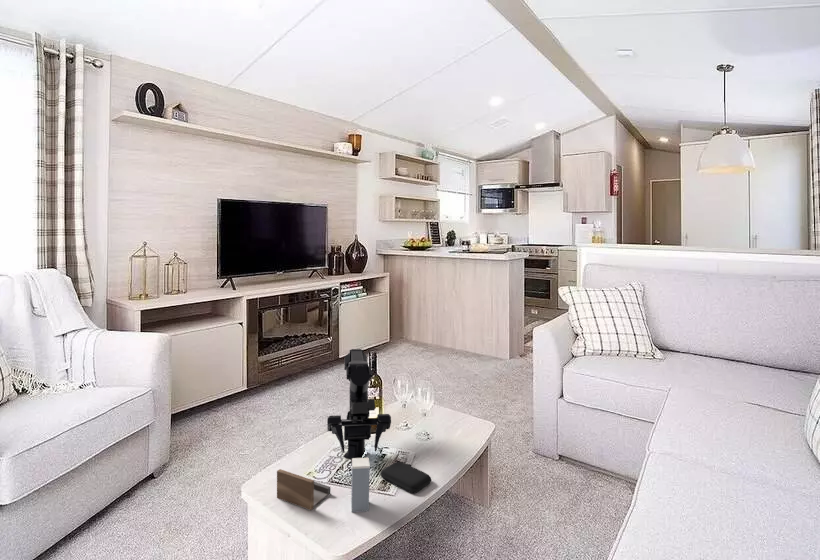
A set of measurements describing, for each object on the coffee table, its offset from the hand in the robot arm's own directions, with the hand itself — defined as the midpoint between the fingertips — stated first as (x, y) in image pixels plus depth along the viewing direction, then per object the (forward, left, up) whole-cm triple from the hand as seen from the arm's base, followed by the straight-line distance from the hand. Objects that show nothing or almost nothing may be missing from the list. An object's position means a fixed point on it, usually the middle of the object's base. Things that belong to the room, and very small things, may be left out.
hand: (359, 451), depth 131 cm
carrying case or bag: (-12, +11, -13) cm, 21 cm away
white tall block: (+6, +3, -13) cm, 14 cm away
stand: (+7, -14, -13) cm, 20 cm away
